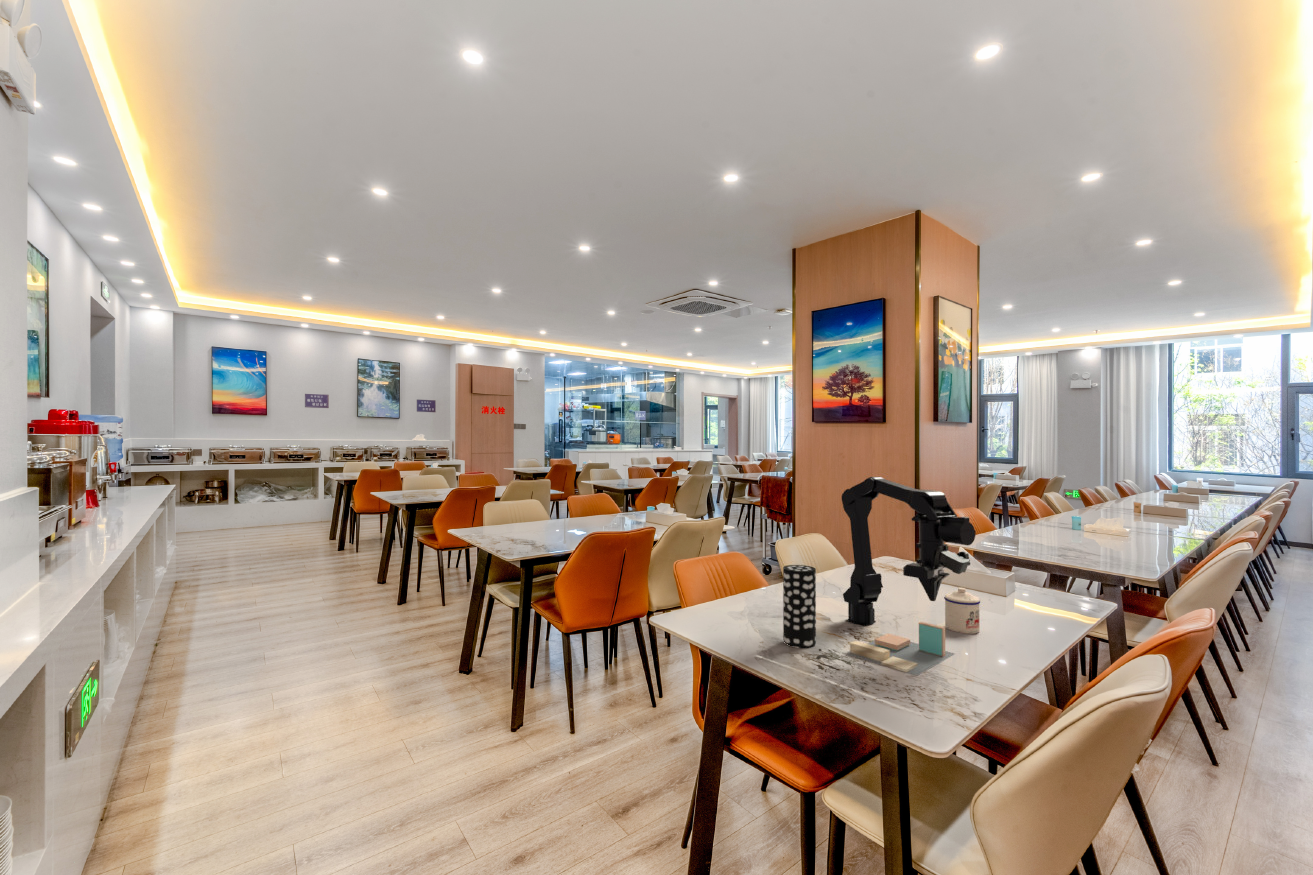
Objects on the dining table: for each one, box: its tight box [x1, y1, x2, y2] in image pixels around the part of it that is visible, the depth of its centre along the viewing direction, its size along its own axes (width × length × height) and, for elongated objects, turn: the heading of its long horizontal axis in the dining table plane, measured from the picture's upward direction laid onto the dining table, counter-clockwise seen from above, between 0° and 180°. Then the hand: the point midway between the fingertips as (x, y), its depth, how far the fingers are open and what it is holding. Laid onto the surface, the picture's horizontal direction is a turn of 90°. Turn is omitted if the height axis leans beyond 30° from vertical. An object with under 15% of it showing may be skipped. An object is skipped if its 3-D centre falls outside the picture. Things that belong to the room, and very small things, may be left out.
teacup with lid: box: [943, 587, 981, 635], centre depth 163 cm, size 12×9×12 cm
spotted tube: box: [782, 564, 817, 649], centre depth 150 cm, size 8×8×20 cm
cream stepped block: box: [849, 640, 917, 673], centre depth 137 cm, size 15×6×2 cm, turn 41°
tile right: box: [918, 621, 946, 657], centre depth 142 cm, size 6×2×7 cm, turn 41°
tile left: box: [874, 633, 911, 651], centre depth 147 cm, size 6×2×7 cm
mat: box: [844, 639, 956, 677], centre depth 142 cm, size 18×21×1 cm
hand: (932, 600), depth 146 cm, fingers closed
